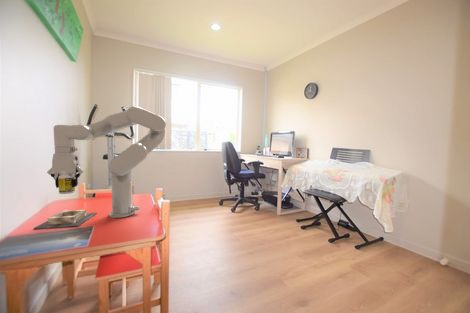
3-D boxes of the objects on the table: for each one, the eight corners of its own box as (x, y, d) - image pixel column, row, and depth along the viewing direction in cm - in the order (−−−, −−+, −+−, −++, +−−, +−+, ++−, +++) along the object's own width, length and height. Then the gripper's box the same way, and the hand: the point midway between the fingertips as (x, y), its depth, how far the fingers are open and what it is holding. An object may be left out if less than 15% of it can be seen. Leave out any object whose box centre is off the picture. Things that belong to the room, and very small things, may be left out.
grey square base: (96, 213, 114) (96, 207, 114) (78, 226, 97) (77, 219, 96) (59, 215, 111) (59, 209, 111) (33, 229, 93) (33, 221, 93)
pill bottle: (66, 194, 99) (64, 171, 99) (55, 194, 101) (54, 171, 100) (78, 191, 105) (77, 170, 105) (68, 191, 107) (67, 169, 106)
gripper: (88, 150, 107) (90, 184, 108) (50, 150, 104) (52, 186, 105) (80, 150, 99) (82, 187, 101) (38, 151, 96) (41, 189, 98)
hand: (66, 186), depth 103 cm, fingers closed on pill bottle, 6 cm apart
